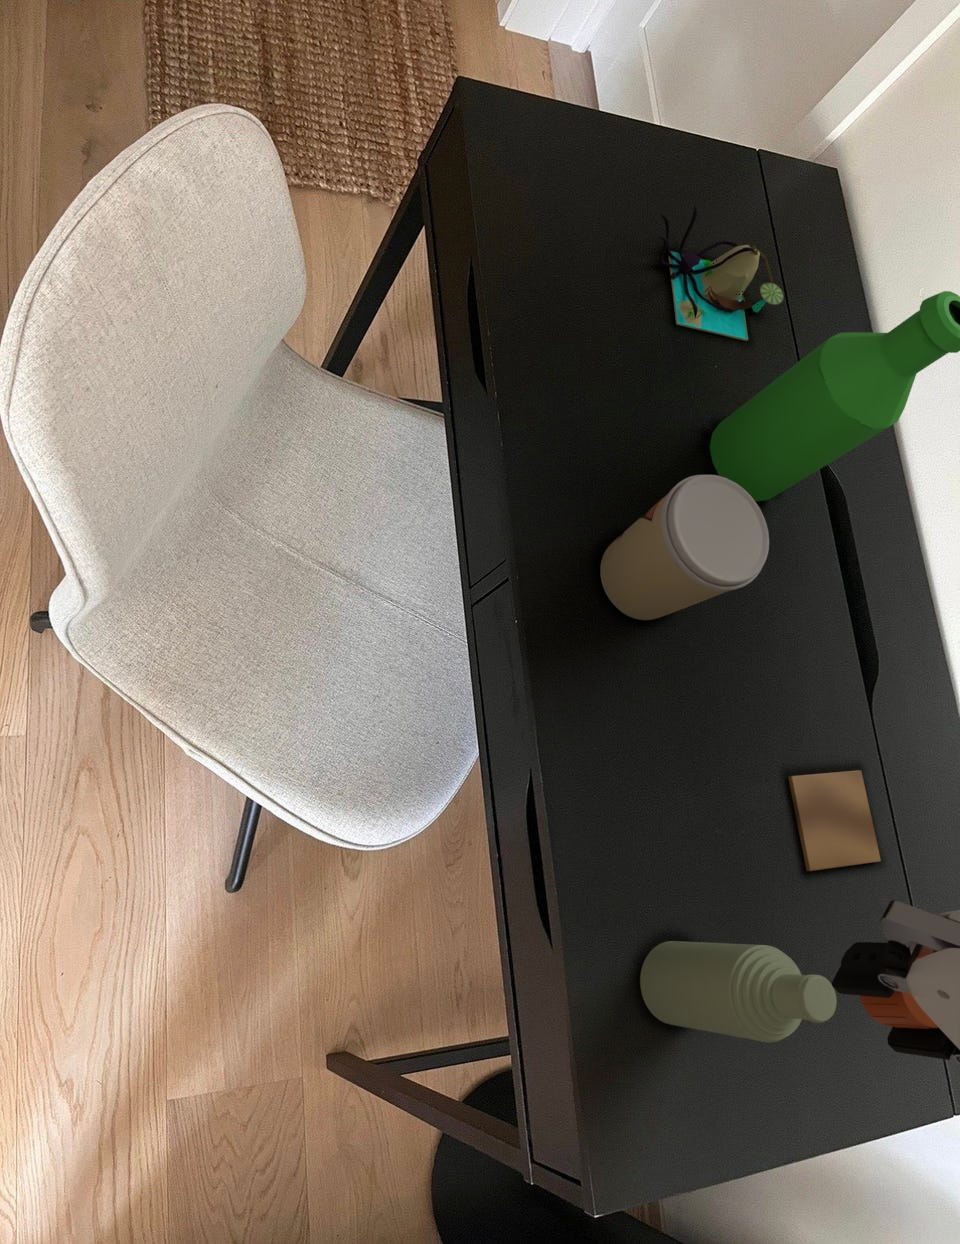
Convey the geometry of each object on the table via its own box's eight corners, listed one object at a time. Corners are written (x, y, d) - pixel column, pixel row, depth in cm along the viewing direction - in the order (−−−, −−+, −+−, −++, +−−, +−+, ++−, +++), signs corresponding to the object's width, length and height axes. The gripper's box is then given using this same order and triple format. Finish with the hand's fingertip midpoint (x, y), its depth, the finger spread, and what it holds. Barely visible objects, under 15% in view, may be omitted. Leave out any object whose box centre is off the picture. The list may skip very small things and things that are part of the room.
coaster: (877, 861, 82) (881, 861, 81) (806, 871, 78) (810, 871, 78) (857, 770, 84) (861, 770, 83) (787, 776, 80) (791, 776, 80)
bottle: (690, 431, 87) (894, 268, 65) (754, 413, 91) (967, 253, 69) (730, 515, 86) (951, 377, 64) (793, 493, 90) (1022, 356, 68)
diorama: (767, 346, 95) (804, 315, 90) (642, 316, 89) (674, 282, 84) (754, 253, 98) (789, 219, 93) (632, 219, 93) (663, 181, 88)
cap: (909, 955, 55) (954, 954, 52) (914, 1031, 53) (960, 1033, 50) (854, 944, 53) (897, 941, 51) (857, 1021, 52) (901, 1022, 49)
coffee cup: (666, 523, 83) (751, 466, 73) (696, 622, 81) (788, 578, 71) (578, 533, 79) (654, 475, 69) (608, 637, 77) (691, 593, 67)
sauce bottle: (717, 1004, 72) (873, 1025, 58) (657, 1038, 69) (805, 1070, 55) (688, 928, 73) (834, 931, 58) (628, 960, 70) (766, 971, 56)
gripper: (1048, 954, 35) (742, 946, 51) (1330, 1255, 36) (943, 1154, 52) (1106, 809, 38) (803, 845, 55) (1361, 1087, 39) (990, 1041, 56)
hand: (874, 996), depth 53 cm, fingers closed on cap, 4 cm apart
